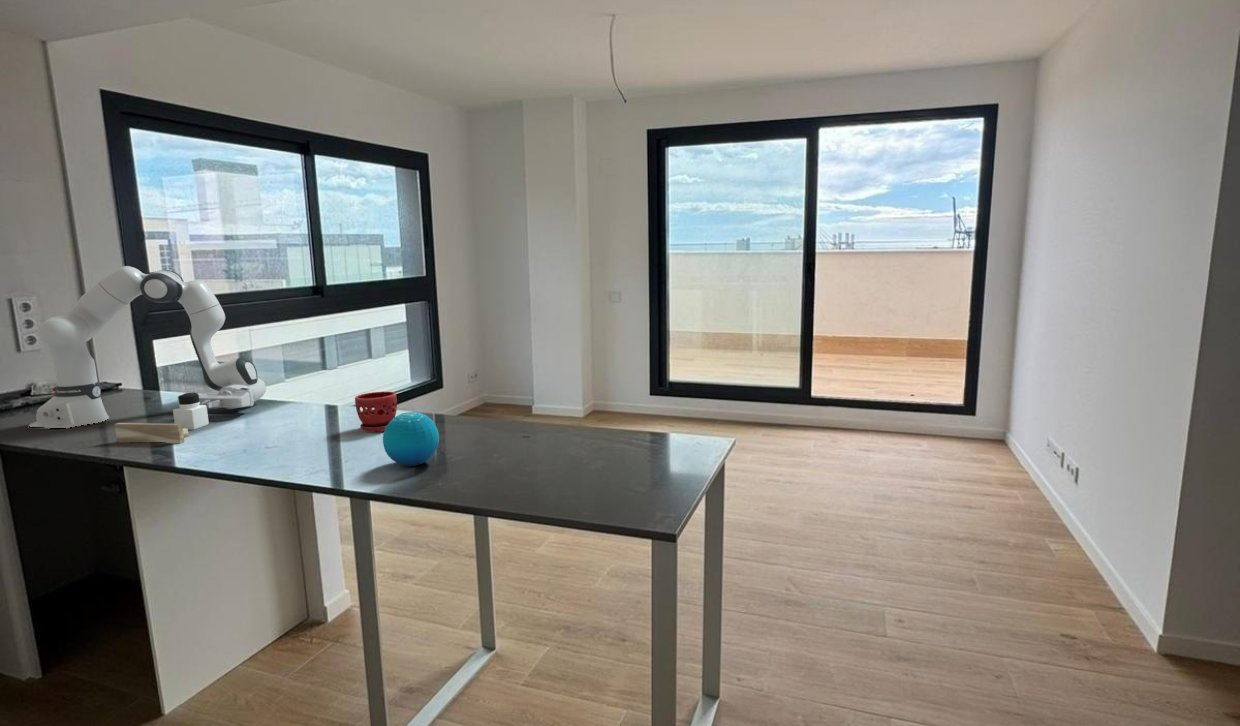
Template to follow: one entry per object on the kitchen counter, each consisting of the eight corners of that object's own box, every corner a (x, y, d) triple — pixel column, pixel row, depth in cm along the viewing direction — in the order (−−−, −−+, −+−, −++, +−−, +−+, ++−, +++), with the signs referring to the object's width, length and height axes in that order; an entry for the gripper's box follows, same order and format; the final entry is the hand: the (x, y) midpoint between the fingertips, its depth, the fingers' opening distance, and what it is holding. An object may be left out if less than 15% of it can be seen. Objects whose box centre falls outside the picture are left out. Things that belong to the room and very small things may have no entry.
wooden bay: (138, 435, 213) (136, 417, 212) (199, 436, 211) (197, 418, 210) (117, 442, 205) (114, 424, 204) (180, 443, 203) (178, 425, 202)
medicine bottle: (209, 424, 225) (205, 391, 223) (194, 430, 218) (189, 395, 216) (190, 424, 226) (186, 391, 224) (174, 429, 219) (170, 395, 217)
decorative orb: (431, 453, 190) (428, 403, 187) (447, 466, 177) (444, 414, 175) (379, 462, 182) (375, 411, 179) (392, 477, 170) (387, 422, 167)
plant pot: (405, 424, 223) (403, 390, 221) (385, 434, 210) (383, 399, 208) (371, 423, 225) (368, 389, 223) (349, 433, 212) (346, 398, 210)
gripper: (205, 388, 242) (176, 396, 229) (255, 389, 240) (230, 397, 227) (207, 404, 243) (179, 413, 230) (257, 405, 241) (232, 414, 228)
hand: (204, 405), depth 228 cm, fingers closed
